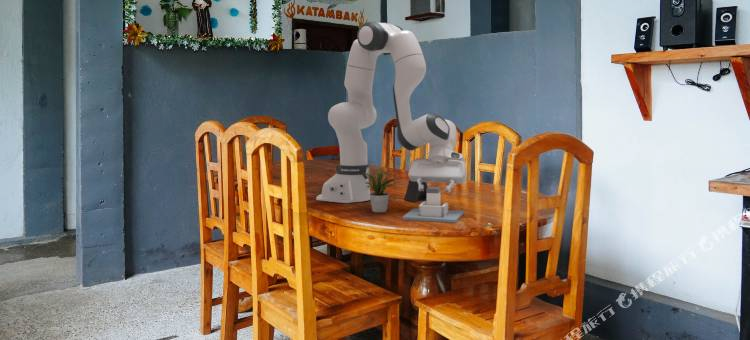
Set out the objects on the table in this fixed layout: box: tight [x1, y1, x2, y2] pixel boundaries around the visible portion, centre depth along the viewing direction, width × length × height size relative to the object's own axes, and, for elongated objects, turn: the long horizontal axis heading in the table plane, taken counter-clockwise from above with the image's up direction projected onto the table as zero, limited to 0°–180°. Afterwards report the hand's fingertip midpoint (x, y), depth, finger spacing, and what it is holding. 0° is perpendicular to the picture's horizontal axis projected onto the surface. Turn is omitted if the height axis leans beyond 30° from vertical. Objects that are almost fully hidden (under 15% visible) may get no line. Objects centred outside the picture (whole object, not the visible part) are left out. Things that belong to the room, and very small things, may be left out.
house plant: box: [365, 166, 399, 213], centre depth 203 cm, size 14×14×16 cm
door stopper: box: [403, 179, 429, 203], centre depth 225 cm, size 9×6×12 cm, turn 126°
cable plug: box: [426, 186, 442, 206], centre depth 194 cm, size 4×4×9 cm
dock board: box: [402, 201, 465, 224], centre depth 194 cm, size 18×15×4 cm
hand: (434, 190), depth 195 cm, fingers open, 8 cm apart
